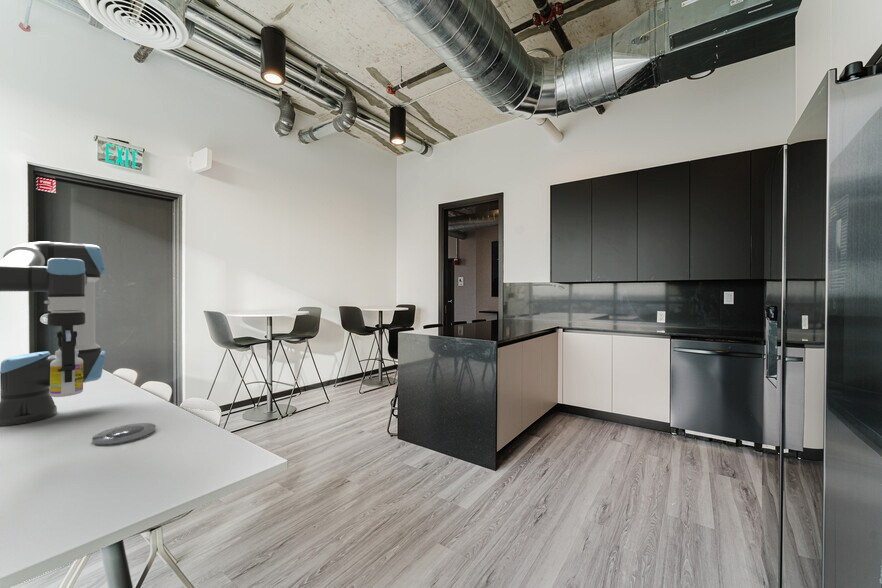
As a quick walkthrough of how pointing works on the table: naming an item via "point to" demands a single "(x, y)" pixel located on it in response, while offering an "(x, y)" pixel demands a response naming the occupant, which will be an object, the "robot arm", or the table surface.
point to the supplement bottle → (56, 376)
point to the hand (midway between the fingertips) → (67, 390)
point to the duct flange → (123, 434)
